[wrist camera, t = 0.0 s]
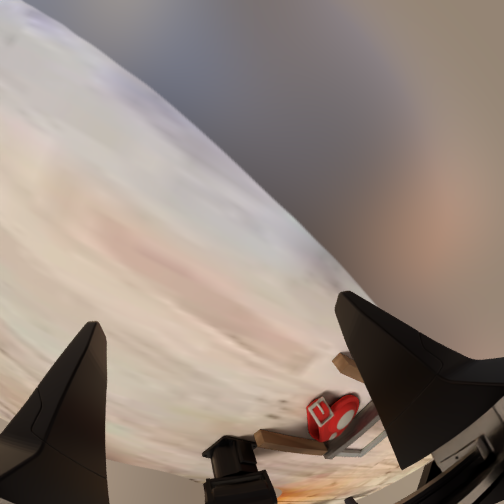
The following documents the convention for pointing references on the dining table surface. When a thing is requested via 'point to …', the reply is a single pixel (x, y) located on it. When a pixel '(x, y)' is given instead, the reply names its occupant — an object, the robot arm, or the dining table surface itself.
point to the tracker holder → (330, 417)
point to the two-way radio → (350, 501)
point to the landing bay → (361, 453)
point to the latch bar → (352, 431)
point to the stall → (301, 444)
